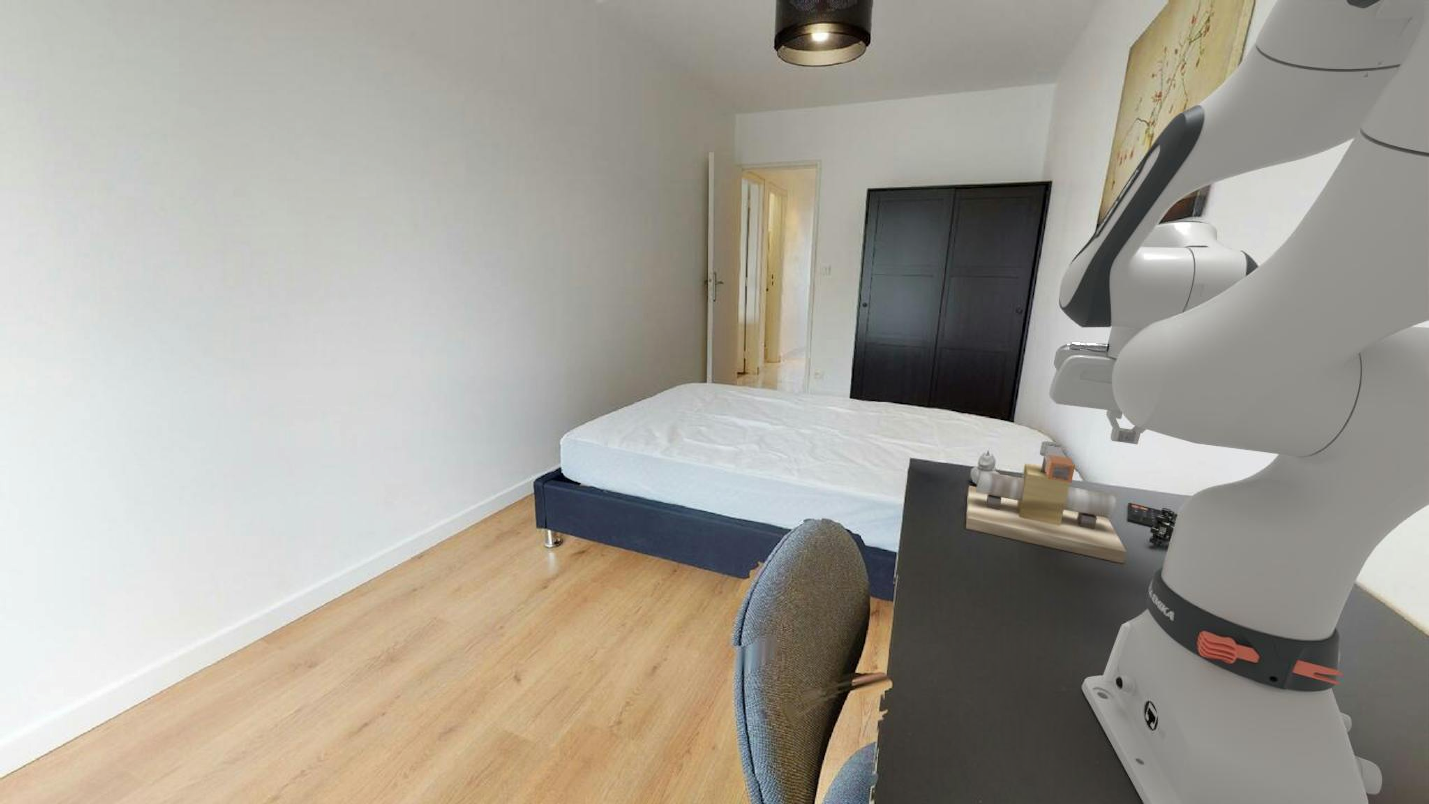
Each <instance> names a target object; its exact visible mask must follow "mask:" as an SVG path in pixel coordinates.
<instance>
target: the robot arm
mask: <svg viewBox="0 0 1429 804" xmlns="http://www.w3.org/2000/svg"><path fill="white" fill-rule="evenodd" d="M1351 140H1352V141H1351ZM1349 141H1351V143H1350V145H1349V146H1348V148H1347V150H1346V151H1345V153H1344V154H1343V155H1342V156H1343V157H1342V158H1341V159H1340V161H1339V163H1338V164H1337V166H1336V168H1335V170H1334V171H1333V173H1332V174H1331V176H1330V177H1329V179H1328V181H1327V182H1326V183H1325V185H1324V187H1323V189H1322V190H1321V191H1320V193H1319V194H1318V196H1317V198H1315V201H1314V202H1313V203H1312V205H1311V207H1310V208H1309V210H1308V211H1307V212H1306V214H1305V215H1304V216H1303V218H1302V219H1301V220H1300V222H1299V223H1298V224H1297V226H1296V228H1295V229H1294V231H1292V233H1291V234H1290V236H1288V238H1287V239H1286V240H1285V241H1284V243H1283V244H1282V245H1280V247H1278V248H1277V249H1276V250H1275V252H1273V254H1272V255H1270V257H1268V258H1267V259H1266V260H1265V261H1264V262H1262V263H1261V264H1260V265H1258V263H1257V262H1256V261H1255V260H1254V258H1253V257H1251V255H1249V254H1248V253H1246V251H1244V250H1237V249H1233V248H1230V247H1228V246H1227V245H1224V244H1223V243H1221V242H1220V241H1219V240H1218V231H1217V230H1218V229H1217V228H1216V226H1215V225H1212V224H1211V223H1207V222H1203V221H1197V220H1176V221H1169V222H1163V223H1162V222H1161V220H1162V219H1163V218H1164V217H1165V215H1167V213H1168V211H1169V210H1171V208H1172V207H1173V206H1174V205H1175V204H1176V203H1177V202H1179V201H1180V200H1181V199H1183V198H1185V197H1186V196H1188V195H1190V194H1192V193H1194V192H1196V191H1198V190H1200V189H1202V188H1204V187H1207V186H1209V185H1212V184H1215V183H1218V182H1221V181H1225V180H1227V179H1230V178H1233V177H1237V176H1240V175H1242V174H1243V175H1244V174H1246V173H1247V174H1248V173H1250V172H1254V171H1257V170H1261V169H1265V168H1269V167H1273V166H1278V165H1282V164H1286V163H1291V162H1296V161H1299V160H1303V159H1306V158H1309V157H1313V156H1315V155H1318V154H1320V153H1321V154H1322V153H1323V152H1326V151H1329V150H1331V149H1333V148H1336V147H1338V146H1340V145H1342V144H1345V143H1347V142H1349ZM1058 294H1059V296H1058V304H1059V308H1060V309H1061V310H1062V312H1063V313H1064V314H1065V315H1066V316H1067V317H1068V318H1069V319H1070V320H1072V321H1073V322H1074V323H1075V324H1077V326H1079V327H1080V328H1111V329H1110V333H1109V337H1108V340H1107V341H1108V342H1107V343H1097V342H1088V343H1087V342H1081V341H1070V342H1069V343H1067V344H1063V345H1062V346H1060V347H1059V348H1058V349H1057V350H1056V351H1055V355H1054V361H1053V365H1054V368H1055V369H1056V370H1055V373H1054V376H1053V378H1052V381H1051V384H1050V388H1049V393H1048V394H1049V397H1050V399H1051V400H1052V401H1053V403H1054V404H1057V405H1063V406H1070V407H1071V406H1072V407H1079V408H1088V409H1096V410H1104V411H1106V414H1105V415H1106V417H1107V419H1108V421H1109V424H1110V426H1111V427H1112V429H1111V433H1110V440H1111V441H1112V442H1117V443H1125V444H1132V445H1138V443H1139V441H1140V437H1141V434H1143V433H1144V432H1146V430H1148V431H1152V432H1155V433H1157V434H1161V435H1164V436H1168V437H1171V438H1175V439H1178V440H1181V441H1186V442H1188V443H1193V444H1199V445H1205V446H1212V447H1213V446H1215V447H1220V448H1221V447H1222V448H1228V449H1229V448H1230V449H1237V450H1244V451H1252V452H1259V453H1267V454H1268V453H1269V454H1275V455H1277V456H1276V457H1275V458H1274V459H1273V460H1272V461H1271V462H1270V463H1269V464H1268V465H1267V466H1266V467H1264V468H1263V469H1260V470H1259V471H1257V472H1256V473H1254V474H1252V475H1250V476H1248V477H1245V478H1243V479H1240V480H1237V481H1233V482H1227V483H1222V484H1217V485H1213V486H1209V487H1207V488H1204V489H1201V490H1199V491H1197V492H1196V493H1194V494H1193V495H1192V496H1190V497H1189V498H1188V499H1187V500H1185V502H1184V503H1183V504H1182V505H1181V506H1180V508H1179V510H1178V512H1177V514H1178V515H1177V518H1176V522H1175V526H1174V529H1173V533H1172V536H1171V540H1170V541H1169V544H1168V547H1167V551H1166V556H1165V558H1164V562H1163V566H1161V567H1160V568H1158V569H1157V570H1156V572H1155V573H1154V576H1153V579H1151V581H1150V583H1149V587H1148V596H1147V598H1146V609H1145V610H1144V611H1143V612H1142V613H1140V614H1139V615H1138V616H1136V617H1134V618H1132V619H1130V620H1128V621H1126V622H1125V623H1122V624H1121V625H1120V628H1119V631H1118V633H1117V636H1116V638H1115V641H1114V644H1113V647H1112V649H1111V652H1110V655H1109V658H1108V660H1107V664H1106V666H1105V669H1104V671H1103V674H1102V675H1092V676H1087V677H1085V679H1084V681H1083V682H1082V685H1081V691H1082V692H1083V694H1084V697H1085V698H1086V700H1087V701H1088V703H1089V705H1090V707H1091V709H1092V711H1093V713H1094V714H1095V717H1096V718H1097V720H1098V722H1099V724H1100V725H1101V727H1102V729H1103V732H1105V734H1106V736H1107V738H1108V741H1109V743H1110V744H1111V745H1112V748H1113V750H1114V752H1115V753H1116V756H1117V757H1118V759H1119V761H1120V763H1121V765H1122V766H1123V768H1124V770H1125V771H1126V773H1127V775H1128V777H1129V779H1130V780H1131V782H1132V785H1133V787H1134V789H1135V790H1136V792H1137V793H1138V796H1139V797H1140V799H1141V801H1142V803H1143V804H1369V798H1368V795H1378V794H1379V793H1380V791H1381V789H1382V787H1383V775H1382V771H1381V770H1380V769H1381V768H1380V767H1379V766H1378V765H1377V764H1376V763H1374V762H1372V761H1370V760H1367V759H1364V758H1362V757H1359V756H1357V755H1355V753H1354V750H1353V747H1352V745H1351V741H1350V737H1349V734H1348V733H1349V732H1351V729H1352V718H1351V717H1350V715H1348V714H1346V713H1344V712H1341V711H1340V709H1339V705H1338V704H1337V700H1336V698H1335V694H1334V692H1333V687H1335V686H1336V685H1339V682H1338V676H1342V675H1343V673H1342V672H1341V671H1340V670H1338V667H1339V664H1338V663H1340V662H1341V650H1340V649H1339V647H1340V633H1339V630H1338V629H1337V627H1336V626H1337V624H1338V621H1339V619H1340V616H1341V614H1342V611H1343V609H1344V607H1345V605H1346V602H1347V600H1348V598H1349V596H1350V593H1351V591H1352V589H1353V588H1354V584H1355V583H1356V580H1357V579H1358V577H1359V575H1360V573H1361V572H1362V570H1363V567H1364V566H1365V563H1366V562H1367V561H1368V559H1369V557H1370V556H1371V554H1372V553H1373V551H1374V550H1376V548H1377V546H1378V545H1379V544H1380V543H1381V542H1382V541H1383V540H1384V539H1385V538H1386V537H1388V535H1389V534H1390V533H1391V532H1392V531H1393V530H1395V529H1396V528H1397V527H1398V526H1399V525H1400V524H1402V523H1403V522H1404V521H1406V520H1408V519H1409V518H1410V517H1411V516H1413V515H1415V514H1416V513H1418V512H1419V511H1420V510H1423V509H1424V508H1425V507H1427V506H1429V327H1424V326H1423V327H1420V326H1417V325H1418V324H1422V323H1424V322H1428V321H1429V0H1276V2H1275V4H1274V5H1273V7H1272V9H1271V11H1270V12H1269V14H1268V16H1267V17H1266V20H1265V22H1264V24H1263V26H1262V27H1261V29H1260V30H1259V33H1258V34H1257V36H1256V39H1255V41H1254V43H1253V44H1252V46H1251V47H1250V50H1249V51H1248V53H1247V54H1246V55H1245V57H1244V59H1243V60H1242V61H1241V62H1240V64H1239V65H1238V66H1237V67H1236V68H1235V69H1234V71H1233V72H1232V73H1231V74H1229V76H1228V77H1227V79H1225V81H1223V82H1222V83H1221V84H1220V85H1219V86H1218V87H1217V88H1216V89H1215V90H1214V91H1212V93H1210V94H1209V95H1208V96H1207V97H1206V98H1204V99H1203V100H1201V102H1199V103H1198V104H1197V105H1194V106H1192V107H1190V108H1188V109H1186V110H1184V111H1182V112H1180V113H1177V114H1176V115H1175V116H1174V117H1173V118H1172V119H1171V120H1170V122H1169V123H1168V124H1167V125H1166V126H1165V127H1164V129H1163V130H1162V131H1161V132H1160V134H1159V135H1158V137H1157V138H1156V139H1155V141H1154V142H1153V143H1152V145H1151V146H1150V148H1149V149H1148V150H1147V152H1146V153H1145V155H1144V156H1143V158H1142V159H1141V161H1140V162H1139V163H1138V165H1137V166H1136V167H1135V169H1134V170H1133V172H1132V174H1131V176H1130V177H1129V178H1128V180H1127V181H1126V183H1125V184H1124V186H1123V188H1122V190H1121V191H1120V192H1119V194H1118V196H1117V197H1116V199H1115V201H1114V202H1113V203H1112V205H1111V207H1110V208H1109V210H1107V212H1106V214H1105V216H1104V218H1103V219H1102V220H1101V222H1100V224H1099V225H1098V227H1097V228H1096V230H1095V231H1094V233H1093V235H1092V236H1091V237H1090V239H1089V240H1088V241H1087V243H1086V244H1085V245H1084V246H1083V247H1082V248H1081V249H1080V251H1078V253H1077V254H1076V255H1075V257H1074V258H1073V259H1072V260H1071V262H1070V263H1069V265H1068V267H1067V269H1066V270H1065V273H1064V274H1063V277H1062V279H1061V283H1060V286H1059V293H1058ZM1068 347H1069V348H1068ZM1123 416H1124V417H1125V418H1126V419H1127V421H1129V423H1130V424H1131V425H1133V427H1132V428H1123V427H1121V426H1120V424H1119V422H1118V421H1117V420H1121V419H1122V418H1123ZM1367 794H1368V795H1367Z"/></svg>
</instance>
